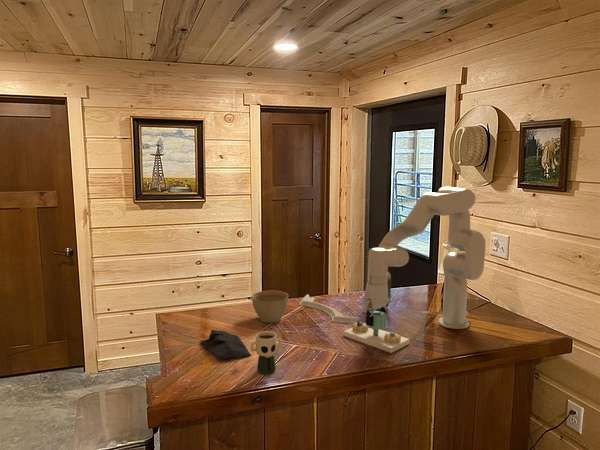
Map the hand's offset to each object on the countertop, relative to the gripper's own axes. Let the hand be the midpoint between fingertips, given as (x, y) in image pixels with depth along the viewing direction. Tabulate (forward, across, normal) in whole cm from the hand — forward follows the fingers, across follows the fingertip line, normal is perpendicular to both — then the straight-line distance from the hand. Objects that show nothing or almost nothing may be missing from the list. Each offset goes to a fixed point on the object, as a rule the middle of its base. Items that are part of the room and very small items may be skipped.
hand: (376, 322), depth 187 cm
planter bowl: (+8, +15, -46) cm, 49 cm away
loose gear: (+1, 0, 0) cm, 1 cm away
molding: (+8, -13, -36) cm, 39 cm away
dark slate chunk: (+8, +48, -35) cm, 60 cm away
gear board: (+7, 0, 0) cm, 7 cm away
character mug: (+8, +48, -10) cm, 50 cm away
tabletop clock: (+7, -31, -20) cm, 38 cm away
